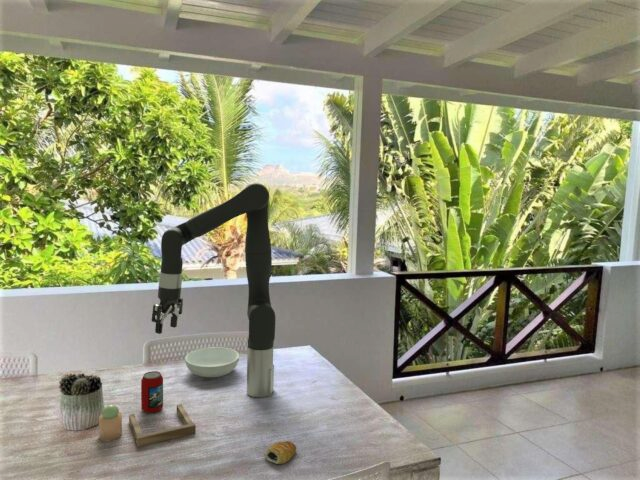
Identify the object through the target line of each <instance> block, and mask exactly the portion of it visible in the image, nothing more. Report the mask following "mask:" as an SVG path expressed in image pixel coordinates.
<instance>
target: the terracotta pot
mask: <svg viewBox="0 0 640 480" xmlns="http://www.w3.org/2000/svg"><path fill="white" fill-rule="evenodd" d="M122 416H123V414H122V412H121V411H119V408H118V406H117V405H115V404H108V405H107V406H104V407H103V409H102V413H101V414H100V415H99V417H98V421H99V423H98V424H99V425H98V427H99V428H98V429H99V439H100V440H101V441H104V442H106V441H107V442H110V441H114V440H117V439H118V438H120V437H122V435H123V423H122V422H123V417H122Z"/></svg>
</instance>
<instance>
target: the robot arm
mask: <svg viewBox="0 0 640 480" xmlns="http://www.w3.org/2000/svg"><path fill="white" fill-rule="evenodd" d="M269 203H270V192H269V190H268V188H267V187H266V186H265V185H264V184H262V183H259V182H253V183H248V184H247V185H246V186H245V187H244V188H243V189H242V190H241V191H239V192H238V193H237V194H236V195H235V196H232V197H230V198H229V199H227V200H226V201H224V202H222V203H220V204H218V205H216V206H213V207H210V208H209V209H208V208H207V210H205V211H202V212H200V213H198V214H197V215H194V216H192V217H191V218H189V219H188V220H187V221H184V222H182V223H180V224H178V225H176V226H174V227H171V228H169V229H167V230H165V231H164V232H163V234H162V235H161V240H160V241H161V242H160V248H161V249H160V250H161V251H160V252H161V265H160V274H159V277H158V288H157V289H158V291H157V298H158V299H159V304H157V303H156V304H153V306H152V313H151V315H152V316H151V322H152V323H154V324H155V327H154V328H155V329H154V330H155V331H154V332H155V333H156V334H158V335H161V334H162V333H163V327H164V326H163V323H164V320H165V319H166V318H168V315H170V328H176V327H178V318H179V316H180V315H182V314H183V305H184V304H183V302H184V298H182V297H181V294H182V293H181V292H182V282H183V262H184V260H183V258H182V249H183V246H185V245H186V244H188V243H190V242H191V241H193V240H194V239H197V238H200V237H202V236H204V235H206V234H209V233H210V232H212V231H213V230H216V229H217V228H219V227H221V226H222V225H224V224H226V223H228V222H229V221H231V220H233V219H235V218H236V217H239V216H242V215H243V214H246V234H245V239H244V240H245V241H244V242H245V243H244V257H245V258H244V260H245V271H246V279H247V285H248V299H247V300H248V302H247V311H246V312H247V313H246V315H247V318H248V338H247V355H246V359H247V360H246V361H247V362H246V365H247V366H246V394H247V395H248V396H250V397H252V398H266V397H271V396H272V394H273V392H274V386H275V385H274V381H275V380H274V379H275V377H274V376H275V374H274V372H275V364H274V343H275V338H276V313H275V311H274V309H273V307H272V303H271V297H270V280H271V273H272V264H273V263H272V262H273V257H272V245H271V237H270V230H269V229H270V228H269V221H268V219H269Z"/></svg>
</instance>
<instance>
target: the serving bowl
mask: <svg viewBox="0 0 640 480" xmlns="http://www.w3.org/2000/svg"><path fill="white" fill-rule="evenodd" d="M184 359H185V360H184V361H185V364H186V368H187V369H188V370H189V372H191V373H192V374H193V375H196V376H199V377H202V378H218V377H222V376H225V375H228V374H229V373H231V372H233V371H234V370H235V369H236V368H237V366H238V363H239V359H240V354H239V352H238V351H236V350H235V349H232V348H229V347H221V346H220V347H219V346H213V347H211V346H210V347H203V348H199V349H195V350H192V351H190V352H189V353H187V354H186V355H185V358H184Z"/></svg>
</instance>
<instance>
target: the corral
mask: <svg viewBox="0 0 640 480" xmlns="http://www.w3.org/2000/svg"><path fill="white" fill-rule="evenodd" d="M176 413H177V415H178V418H179V419H180V421H181V423H183V425H179V426H176V427H169V428H167V429H163V430H158V431H154V432H153V431H152V432H148V433H145V434H143V432H142V430H141V427H140V424H139V421H138V419H137V417H136V415H135V413H131V414H129V415H128V419H129V420H128V423H129V425H130V428H131V429H130V430H131V431H132V434H133V436H134V439H135V442H136V443H135V445H136V447H137V448H138V447H142V446H147V445H151V444H155V443H160V442H164V441H165V442H166V441H169V440H173V439H177V438H182V437H185V436H189V435H194V434H196V423H194V421H193V420H192V418H191V417H190V416H189V414H188V412H187V411H186V409H185V408H184V406H183V404H182V403H179V404H177V405H176Z"/></svg>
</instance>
